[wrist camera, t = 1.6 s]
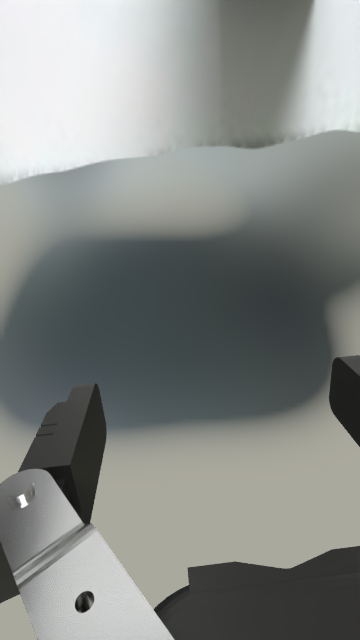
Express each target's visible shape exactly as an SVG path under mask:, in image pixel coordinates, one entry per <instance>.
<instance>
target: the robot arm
mask: <svg viewBox="0 0 360 640" xmlns="http://www.w3.org/2000/svg"><path fill="white" fill-rule="evenodd" d="M329 394H330V395H329V402H330V406H331V409H332V411H333V414H334V415H335V416H336V418H337V419H338V420H339V422H340V423H341V424H342V425H343V426H344V428H345V429H346V430H347V431H348V433H349V434H350V435H351V437H352V438H353V439H354V440H355V442H356V443H357V444H358V445H359V447H360V356H359V355H357V356H348V357H337V358H335V359H334V361H333V364H332V373H331V383H330V393H329ZM105 443H106V421H105V416H104V411H103V406H102V401H101V396H100V391H99V387H98V385H97V384H96V383H95V384H86V385H76V386H73V388H72V390H71V392H70V395H69V397H68V400H67V402H60V403H57V404H56V405H55V406H54V407H53V408H52V409H51V410H50V411H49V412H47V413H46V416H45V418H44V420H43V422H42V424H41V427H40V428H39V430H38V432H37V434H36V437H35V438H34V440H33V442H32V444H31V446H30V449H29V451H28V453H27V455H26V457H25V459H24V461H23V463H22V465H21V467H20V469H19V471H18V473H16V474H14V475H12V476H11V477H9V478H7V479H6V480H5V481H3V482H2V483H1V484H0V603H2V602H3V601H6V600H8V599H10V598H12V597H14V596H16V595H19V594H20V595H21V597H22V600H23V602H24V605H25V607H26V610H27V613H28V615H29V618H30V621H31V623H32V626H33V628H34V631H35V634H36V636H37V639H38V640H360V546H356V547H349V548H340V549H334V550H330V551H328V552H326V553H324V554H321V555H319V556H317V557H315V558H313V559H311V560H308V561H306V562H304V563H302V564H300V565H298V566H295V567H293V568H290V569H282V568H275V567H267V566H261V565H254V564H247V563H241V562H229V563H221V564H214V565H205V566H197V567H189V568H188V577H189V585H188V586H186V587H184V588H182V589H180V590H178V591H176V592H175V593H173V594H171V595H170V596H168V597H167V598H166V599H165V600H163V601H162V602H161V603H160V604H158V606H157V607H156V608H155V609H154V610H153V608H152V607H151V606H150V604H149V603H148V601H147V600H146V599H145V597H144V596H143V594H142V593H141V592H140V590H139V589H138V587H137V586H136V584H135V583H134V582H133V580H132V579H131V577H130V576H129V575H128V573H127V572H126V570H125V569H124V567H123V566H122V565H121V563H120V562H119V560H118V559H117V557H116V556H115V555H114V553H113V552H112V550H111V549H110V548H109V546H108V545H107V543H106V542H105V541H104V539H103V538H102V536H101V535H100V533H99V532H98V531H97V529H96V528H95V527H94V526H93V525H92V524H91V523H90V520H91V515H92V510H93V505H94V499H95V494H96V489H97V484H98V479H99V474H100V468H101V464H102V458H103V453H104V448H105Z"/></svg>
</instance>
